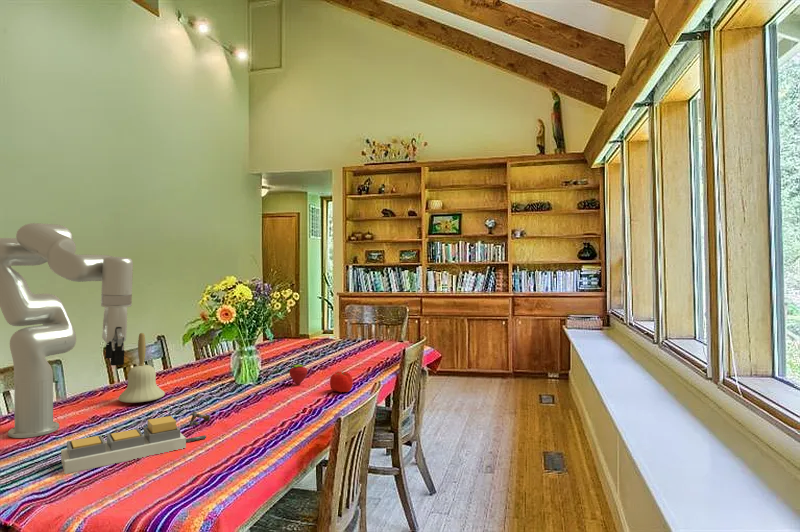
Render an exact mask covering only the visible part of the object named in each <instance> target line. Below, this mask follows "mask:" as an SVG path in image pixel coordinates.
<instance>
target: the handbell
mask: <svg viewBox="0 0 800 532" xmlns="http://www.w3.org/2000/svg"><path fill="white" fill-rule="evenodd" d="M137 340H138V341H137V342H138V343H137V354H138V355H137V356H138V362H139V364H138V365H135V366H133V367H131V368H130V370H129V371H128V374H127V387H126V389H124V391H122V393H120V395H119V397H118V398H117V399H118V401H119V402H122V403H144V402H151V401H155V400H159V399H161V398H162V397H164V396H165V393H166V392H165V391H164V389H161V387H159V386H158V385H157V382H156V377H157V375H156V374H157V373H156V372H157V371H156V369H155V368H154V367H153V366H151V365H149V364H146V363H145V358H146V351H147V348H146V336H145V333H143V332H140V333H139V335H138V339H137Z"/></svg>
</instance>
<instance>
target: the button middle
mask: <svg viewBox="0 0 800 532" xmlns="http://www.w3.org/2000/svg"><path fill="white" fill-rule="evenodd" d="M136 429H137V428H136ZM136 429H135V428H134V429H130V430H125V431H124V430H123V431H118V432H112V433H110V434H111V438H112V440H113V442H114V441H119V440H124V439H130V438H135V437H140V434H139V433H138V432H137V430H136Z"/></svg>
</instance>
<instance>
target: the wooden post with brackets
mask: <svg viewBox="0 0 800 532" xmlns="http://www.w3.org/2000/svg"><path fill="white" fill-rule="evenodd" d="M190 415H191V419H190V421H189V425H188V426H189V427H192V426H198V425H199V422H198V421H195V419H196V418H199V419H203V421H205V422H206V421H207V422H210V419H211V416H212V415H211V414H210V415H209V414H205V415H203V414H201V413H197V411H196V410H195V411H191V413H190Z"/></svg>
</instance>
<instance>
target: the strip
mask: <svg viewBox="0 0 800 532" xmlns="http://www.w3.org/2000/svg"><path fill="white" fill-rule="evenodd" d="M136 430H137V432H138V433H139V434H140V437H135V438H130V439H124V440H119V441H114V442H113V440H112V438H111V434H112V433H108V434H106V441H105V440H104V438H103V436H102V435H97V436H98V437H99V439H100V441H101V444H98V445H92V446H87V447H81V448H76V449H72V448H71V440H68V441H67V440H66V448H62V449H61V450H60V451H61V452H60V458H61V460H60V461H61V466H62V468H63V472H64V475H66V474H67V475H68V474H71V473H72V474H73V473H77V472H82V471H86V470H91V469H95V468H101V467H106V466H110V465H115V463H116V464H120V463H125V462H129V460H130V461H134V460H133V459H135V460H138V459H137V458H139V459H143V458H142V457H144V458H147V457H146V456H149V455H154V454H159V455H161V454H160V453H163V454H165V453H164V452H168V453H170V452H169V451H173V450H178V449H182V450H184V449H183V448H186V449H187V443H191V442H190V441H192V442H196V441H195V440H197V441H201V440H200V439H202V440H205V438H206V439H207V435H206V434H205V435H199V436H194V437H189V438H187V437H186V436H185V435H184V434H183V433H181V428H180V427H178V426H177V425H176V429H174V430H169V431H163V432H158V433H152V432H151V431H150V430H149V429H148V426H147V427H143V432H142V431H141V430H140V429H139V428H136ZM186 442H187V443H186ZM178 451H179V450H178ZM173 452H174V451H173ZM154 456H155V455H154ZM149 457H150V456H149Z"/></svg>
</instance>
